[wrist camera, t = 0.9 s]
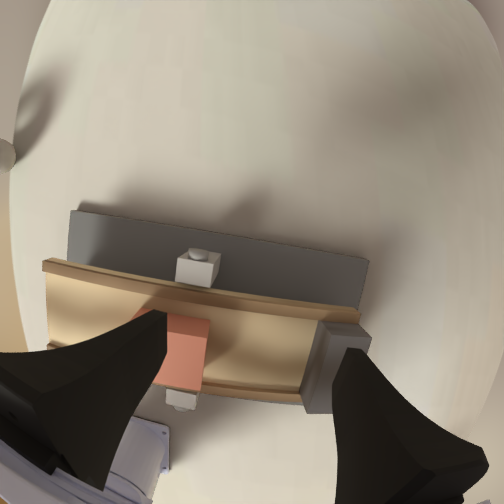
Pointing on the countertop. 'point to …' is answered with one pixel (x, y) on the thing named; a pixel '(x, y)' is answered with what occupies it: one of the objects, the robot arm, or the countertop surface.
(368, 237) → the countertop surface
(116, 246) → the tilt stand
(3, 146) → the donut
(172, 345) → the block
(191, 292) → the beam
